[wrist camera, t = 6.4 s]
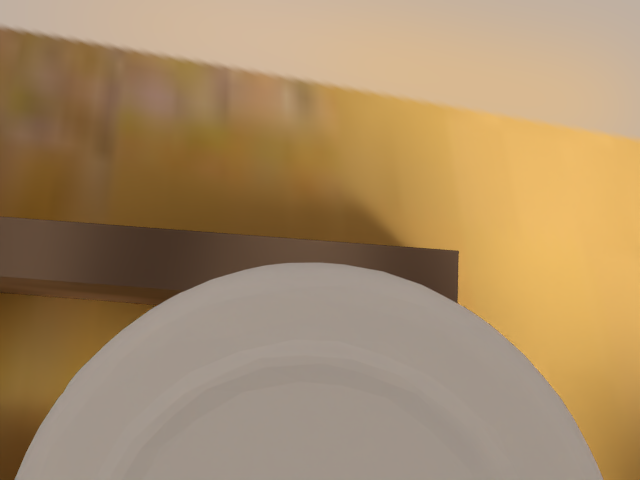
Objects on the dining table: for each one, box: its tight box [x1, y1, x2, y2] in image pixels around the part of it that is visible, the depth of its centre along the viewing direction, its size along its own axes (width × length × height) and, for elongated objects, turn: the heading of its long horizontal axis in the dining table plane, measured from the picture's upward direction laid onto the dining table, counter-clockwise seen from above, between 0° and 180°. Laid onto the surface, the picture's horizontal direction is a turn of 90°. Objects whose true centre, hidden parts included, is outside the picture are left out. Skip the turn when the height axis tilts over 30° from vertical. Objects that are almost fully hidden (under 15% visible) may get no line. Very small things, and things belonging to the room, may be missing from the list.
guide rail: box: [0, 217, 459, 305], centre depth 15 cm, size 17×10×4 cm, turn 85°
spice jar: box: [14, 263, 603, 480], centre depth 10 cm, size 5×5×14 cm
